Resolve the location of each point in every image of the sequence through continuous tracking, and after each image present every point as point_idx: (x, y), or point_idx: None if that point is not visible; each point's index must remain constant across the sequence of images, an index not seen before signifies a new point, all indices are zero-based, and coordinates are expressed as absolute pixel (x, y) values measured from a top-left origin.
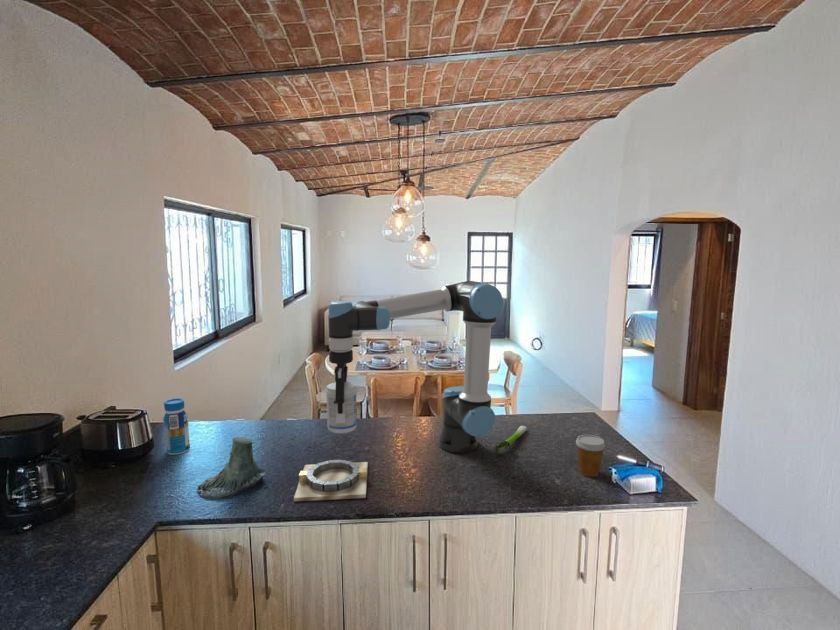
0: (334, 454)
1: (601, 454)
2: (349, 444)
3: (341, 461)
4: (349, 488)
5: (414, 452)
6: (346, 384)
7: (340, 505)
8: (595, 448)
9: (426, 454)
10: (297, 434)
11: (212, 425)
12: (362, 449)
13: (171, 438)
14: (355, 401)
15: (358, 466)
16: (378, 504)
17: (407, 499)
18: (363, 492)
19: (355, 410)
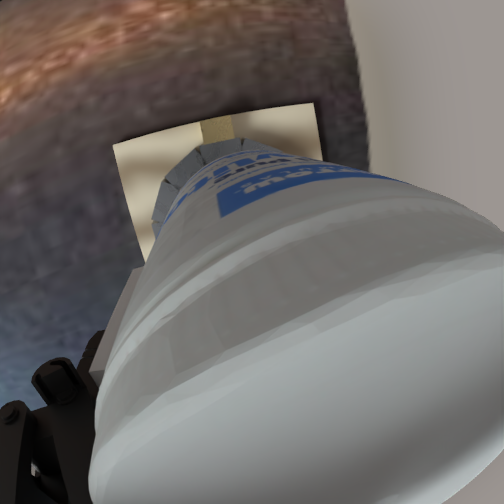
0: (73, 269)
1: None
2: (12, 248)
3: (164, 219)
4: (286, 153)
5: (31, 40)
6: (332, 491)
7: (346, 162)
8: None
9: (44, 6)
10: (25, 383)
11: None
12: (26, 198)
13: None
14: (337, 165)
15: (146, 164)
16: (335, 69)
17: (304, 5)
18: (305, 110)
19: (305, 157)
